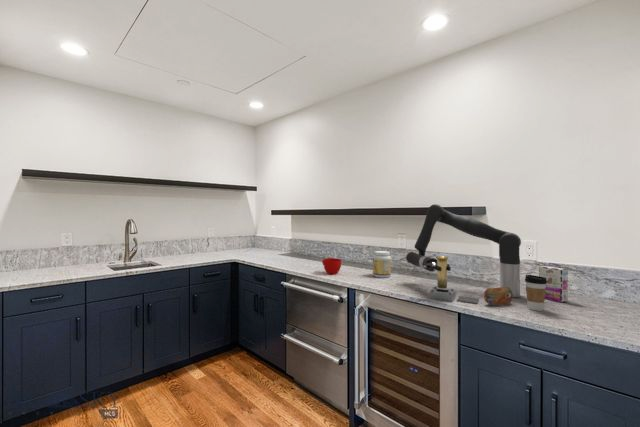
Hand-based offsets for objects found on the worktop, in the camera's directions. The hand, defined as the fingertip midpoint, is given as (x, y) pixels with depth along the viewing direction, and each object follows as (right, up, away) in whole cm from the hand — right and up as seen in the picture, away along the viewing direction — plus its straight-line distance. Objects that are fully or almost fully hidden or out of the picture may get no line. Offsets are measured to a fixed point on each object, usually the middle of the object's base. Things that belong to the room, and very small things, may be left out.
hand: (445, 268), depth 157 cm
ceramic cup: (-56, -15, +65) cm, 87 cm away
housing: (0, -15, +3) cm, 16 cm away
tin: (+22, -16, -8) cm, 28 cm away
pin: (0, -10, +3) cm, 10 cm away
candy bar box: (+56, -16, +1) cm, 58 cm away
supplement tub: (-21, -15, +55) cm, 61 cm away
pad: (+11, -15, -2) cm, 19 cm away
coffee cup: (+36, -16, -15) cm, 42 cm away
